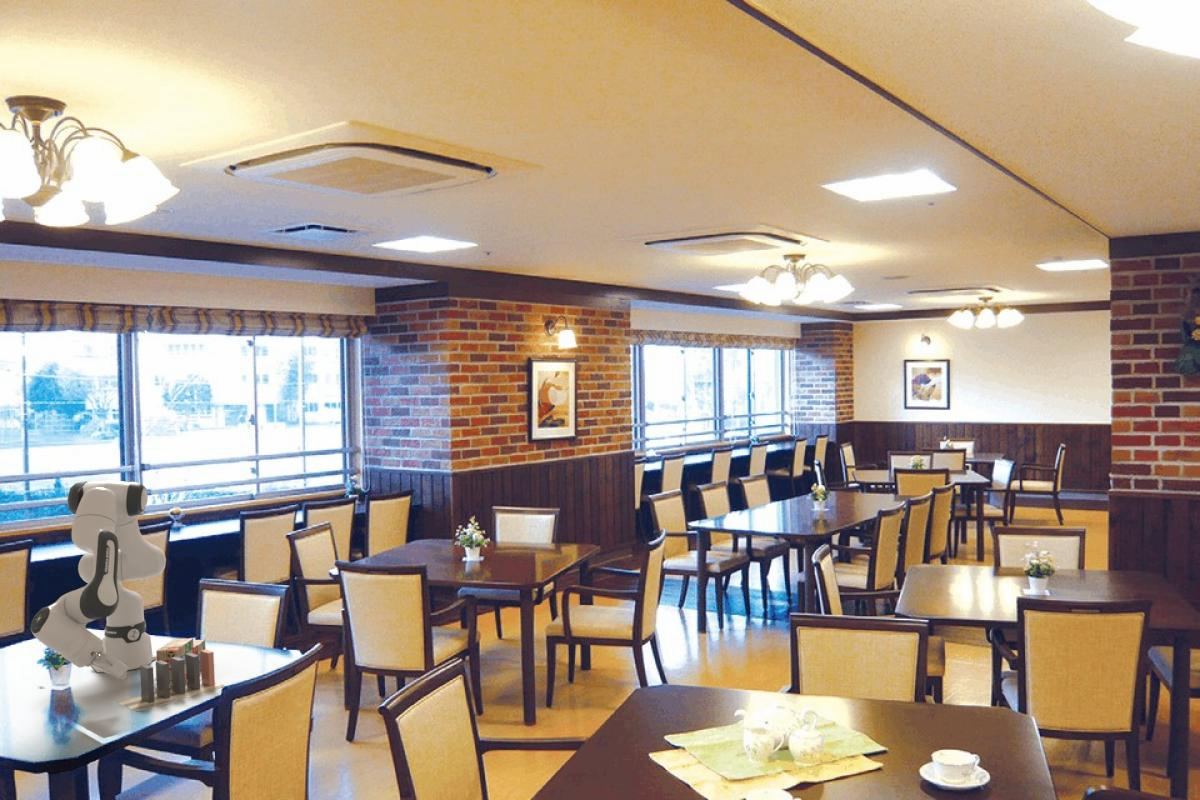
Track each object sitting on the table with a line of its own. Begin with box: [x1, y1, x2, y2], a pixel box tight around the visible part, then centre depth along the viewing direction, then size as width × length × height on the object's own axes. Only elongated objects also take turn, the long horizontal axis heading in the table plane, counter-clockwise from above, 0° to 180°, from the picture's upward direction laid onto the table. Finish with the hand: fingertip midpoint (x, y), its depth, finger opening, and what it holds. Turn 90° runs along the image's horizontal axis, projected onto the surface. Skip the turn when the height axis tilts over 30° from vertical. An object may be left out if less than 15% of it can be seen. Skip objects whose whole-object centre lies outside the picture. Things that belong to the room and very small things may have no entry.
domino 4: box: [186, 653, 201, 690], centre depth 287 cm, size 2×5×10 cm, turn 49°
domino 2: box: [155, 660, 171, 699], centre depth 280 cm, size 2×5×10 cm, turn 49°
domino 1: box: [139, 664, 155, 703], centre depth 277 cm, size 2×5×10 cm, turn 49°
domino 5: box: [200, 648, 216, 686], centre depth 291 cm, size 2×5×10 cm, turn 49°
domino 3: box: [171, 657, 186, 695], centre depth 284 cm, size 2×5×10 cm, turn 49°
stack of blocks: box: [155, 637, 206, 686], centre depth 301 cm, size 21×6×12 cm, turn 0°
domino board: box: [117, 678, 224, 712], centre depth 282 cm, size 13×26×1 cm, turn 139°
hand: (123, 676), depth 272 cm, fingers closed
